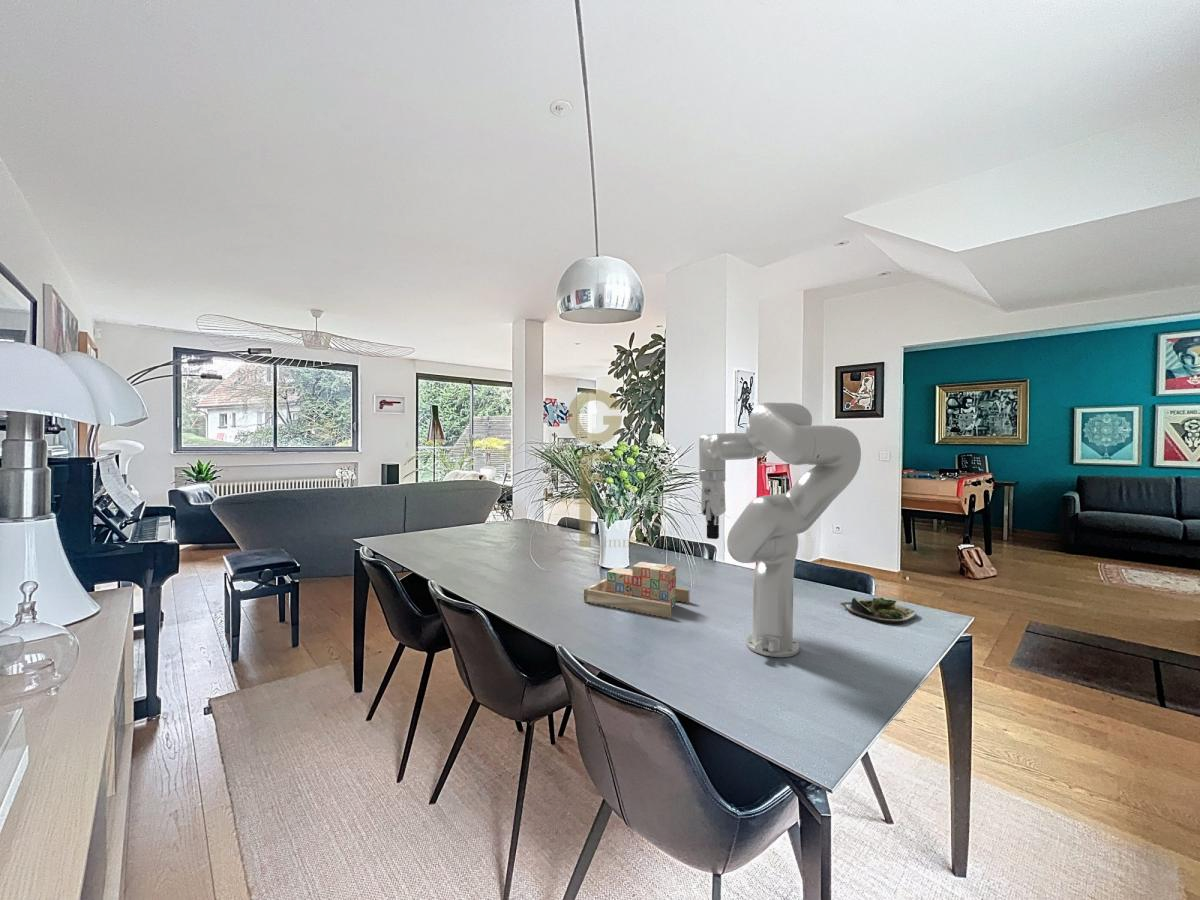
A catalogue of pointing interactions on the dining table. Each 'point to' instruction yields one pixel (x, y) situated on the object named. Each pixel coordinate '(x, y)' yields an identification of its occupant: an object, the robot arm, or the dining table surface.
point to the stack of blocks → (644, 582)
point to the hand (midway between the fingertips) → (712, 538)
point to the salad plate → (879, 610)
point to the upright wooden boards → (632, 600)
